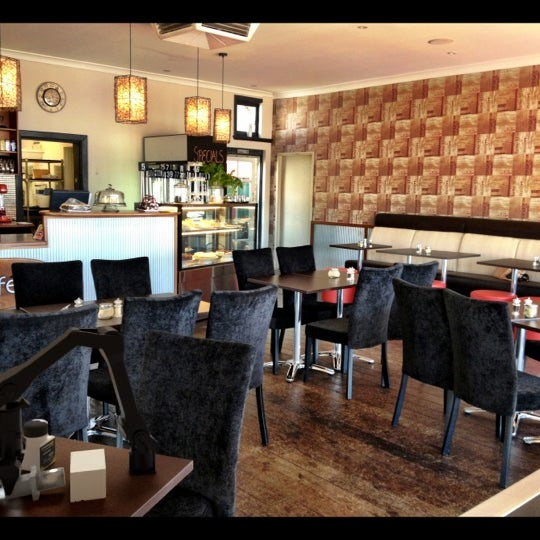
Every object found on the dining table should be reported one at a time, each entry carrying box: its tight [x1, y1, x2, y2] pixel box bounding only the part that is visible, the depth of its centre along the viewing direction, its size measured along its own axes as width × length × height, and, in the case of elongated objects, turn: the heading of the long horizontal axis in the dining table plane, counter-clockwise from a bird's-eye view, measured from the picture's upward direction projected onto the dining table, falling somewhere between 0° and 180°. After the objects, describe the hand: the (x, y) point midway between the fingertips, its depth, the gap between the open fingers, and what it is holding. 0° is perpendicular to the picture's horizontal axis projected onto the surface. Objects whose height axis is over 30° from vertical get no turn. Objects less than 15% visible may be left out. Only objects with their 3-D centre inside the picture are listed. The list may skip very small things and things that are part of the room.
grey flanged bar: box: [3, 465, 66, 502], centre depth 138 cm, size 13×6×6 cm, turn 108°
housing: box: [69, 448, 107, 503], centre depth 142 cm, size 8×12×7 cm, turn 18°
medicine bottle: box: [21, 418, 56, 472], centre depth 154 cm, size 7×7×12 cm
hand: (9, 491), depth 137 cm, fingers closed on grey flanged bar, 4 cm apart
